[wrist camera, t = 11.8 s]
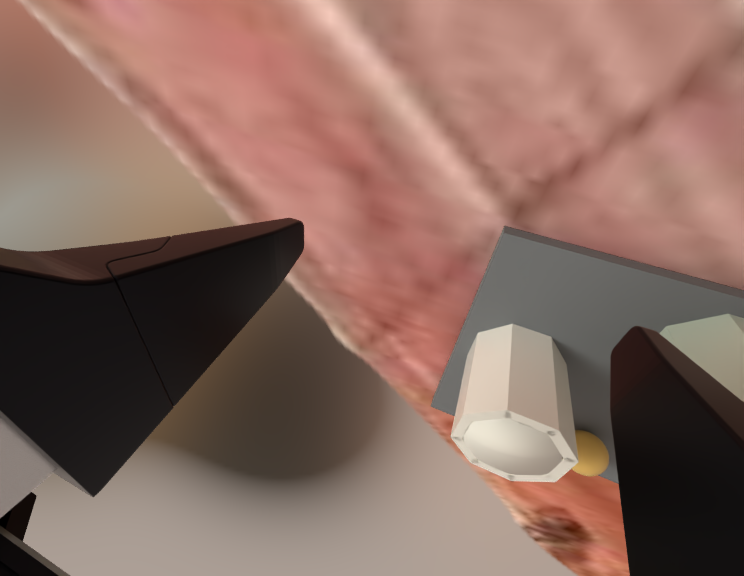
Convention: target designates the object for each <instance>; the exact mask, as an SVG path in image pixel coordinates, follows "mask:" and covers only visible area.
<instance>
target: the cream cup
mask: <svg viewBox="0 0 744 576" xmlns="http://www.w3.org/2000/svg"><path fill="white" fill-rule="evenodd" d="M451 438H452V439H453V441H454V442H455V443H456V445H457V446H458V447H459V448H460V450H461V451H462V452H463V454H464V455H465V456H466V458H467V459H468V460H469V461H470V463H472V464H474V465H476V466H479V467H481V468H483V469H486V470H488V471H490V472H492V473H495V474H497V475H499V476H501V477H504V478H506V479H508V480H510V481H534V482H556V481H557V480H559V479H560V478H561V477H562V476H563V475H564V474H566V473H567V472H568V471H569V470H570V469H571V468H572V467H574V466H575V465H576V464H577V463H578V462H579V461H578V453H577V445H576V437H575V429H574V421H573V413H572V405H571V397H570V389H569V381H568V373H567V365H566V362H565V360H564V359H563V357H562V355H561V353H560V352H559V350H558V348H557V346H556V344H555V343H554V341H553V339H552V337H551V336H548V335H545V334H542V333H539V332H536V331H533V330H530V329H527V328H524V327H521V326H518V325H515V324H509V325H506V326H502V327H498V328H494V329H490V330H486V331H483V332H479V333H478V334H477V336H476V338H475V340H474V342H473V344H472V346H471V349H470V351H469V353H468V355H467V359H466V364H465V369H464V374H463V379H462V384H461V389H460V393H459V398H458V403H457V408H456V413H455V418H454V423H453V428H452V433H451Z"/></svg>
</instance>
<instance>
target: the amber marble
mask: <svg viewBox="0 0 744 576" xmlns="http://www.w3.org/2000/svg"><path fill="white" fill-rule="evenodd" d="M575 437H576V445H577V453H578V461H579V462H578V463H577V464H576V465H575V466H574V467H572V468H571V469H572V470H573V471H575V472H577V473H579V474H581V475H584V476H597V475H599V474H601V473H603V472H604V471H605V470H606V469H607V467H608V464H609V454H608V450H607V448H606V446H605V445H604V443H603V442H602V441H601V440H600V439H599V438H598V437H597V436H595V435H594V434H592V433H589V432H587V431H583V430H575Z"/></svg>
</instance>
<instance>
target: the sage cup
mask: <svg viewBox="0 0 744 576" xmlns="http://www.w3.org/2000/svg"><path fill="white" fill-rule="evenodd" d="M659 334H660V335H662V336H663V337H664V338H665V339H667V340H668V341H669V342H670V343H672V344H673V345H674V346H675V347H676V348H678V349H679V350H680V351H681V352H683V353H684V354H685V355H686V356H688V357H689V358H690V359H691V360H692V361H694V362H695V363H696V364H697V365H699V366H700V367H701V368H702V369H704V370H705V371H706V372H707V373H708V374H710V375H711V376H712V377H713V378H715V379H716V380H717V381H718V382H720V383H721V384H722V385H723V386H724V387H726V388H727V389H728V390H729V391H731V392H732V393H733V394H734V395H736V396H737V397H738V398H739V399H740V400H742V401H743V402H744V318H742V317H738V316H735V315H731V314H724V315H719V316H714V317H709V318H704V319H699V320H694V321H689V322H685V323H680V324H675V325H670V326H666V327H665V328H664V329H663V330H662V331H661V332H660V333H659Z"/></svg>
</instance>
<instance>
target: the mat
mask: <svg viewBox="0 0 744 576" xmlns="http://www.w3.org/2000/svg"><path fill="white" fill-rule="evenodd" d="M724 314H731V315H735V316H738V317H742V318H744V290H740V289H736V288H733V287H729V286H725V285H722V284H718V283H714V282H711V281H707V280H703V279H699V278H696V277H692V276H688V275H685V274H681V273H677V272H673V271H670V270H666V269H662V268H659V267H655V266H651V265H648V264H644V263H640V262H636V261H633V260H629V259H625V258H622V257H618V256H614V255H611V254H607V253H603V252H599V251H596V250H592V249H588V248H585V247H581V246H577V245H573V244H570V243H566V242H562V241H559V240H555V239H551V238H548V237H544V236H540V235H536V234H533V233H529V232H525V231H522V230H518V229H514V228H510V227H507V226H504V228H503V231H502V233H501V235H500V238H499V240H498V243H497V245H496V247H495V250H494V252H493V255H492V257H491V260H490V262H489V264H488V267H487V269H486V272H485V274H484V276H483V279H482V281H481V284H480V286H479V289H478V291H477V293H476V296H475V298H474V301H473V303H472V305H471V308H470V310H469V313H468V315H467V317H466V320H465V322H464V325H463V327H462V330H461V332H460V334H459V337H458V339H457V342H456V344H455V346H454V349H453V351H452V354H451V356H450V359H449V361H448V363H447V366H446V368H445V371H444V373H443V375H442V378H441V380H440V383H439V385H438V387H437V390H436V392H435V395H434V397H433V400H432V404H431V407H434V408H436V409H438V410H441V411H443V412H446V413H448V414H450V415H453V416H455V413H456V408H457V403H458V398H459V393H460V389H461V384H462V379H463V374H464V369H465V364H466V359H467V355H468V353H469V351H470V349H471V346H472V344H473V342H474V340H475V338H476V336H477V334H478V333H479V332H483V331H486V330H490V329H494V328H498V327H502V326H506V325H509V324H515V325H518V326H521V327H524V328H527V329H530V330H533V331H536V332H539V333H542V334H545V335H548V336H551V337H552V339H553V341H554V343H555V344H556V346H557V348H558V350H559V352H560V353H561V355H562V357H563V359H564V360H565V362H566V365H567V373H568V381H569V389H570V397H571V405H572V413H573V421H574V429H575V430H583V431H587V432H589V433H592V434H594V435H595V436H597V437H598V438H599V439H600V440H601V441H602V442H603V443H604V445H605V446H606V448H607V450H608V454H609V464H608V467H607V469H606V470H605V471H604V472H603V473H601V474H599V475H598V476H601V477H603V478H606V479H608V480H611V481H613V482H615V483H618V484H619V482H618V474H617V466H616V458H615V449H614V441H613V433H612V425H611V416H610V356H611V352H612V350H613V348H614V347H615V346H616V344H617V343H618V342H619V341H620V340H621V339H622V337H623V336H624V335H625V334H626V333H627V332H628V331H629V330H630V329H631V328H632V327H634V326H642V327H645V328H648V329H651V330H654V331H657V332H658V333H660V332H661V331H662V330H663V329H664V328H665V327H666V326H670V325H675V324H680V323H685V322H689V321H694V320H699V319H704V318H709V317H714V316H719V315H724Z"/></svg>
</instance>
